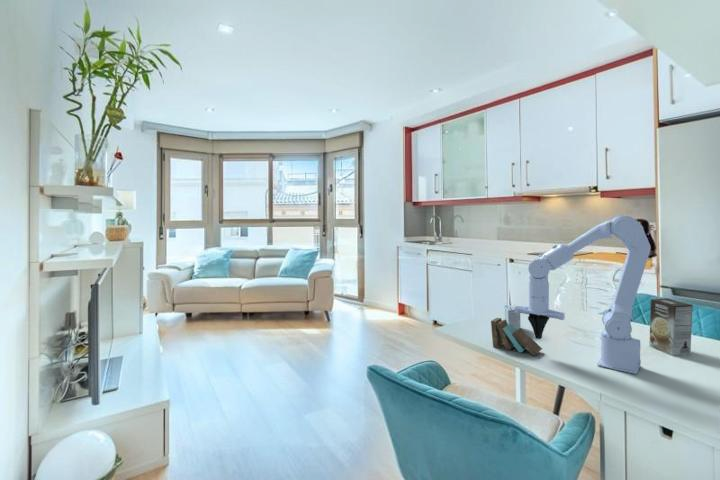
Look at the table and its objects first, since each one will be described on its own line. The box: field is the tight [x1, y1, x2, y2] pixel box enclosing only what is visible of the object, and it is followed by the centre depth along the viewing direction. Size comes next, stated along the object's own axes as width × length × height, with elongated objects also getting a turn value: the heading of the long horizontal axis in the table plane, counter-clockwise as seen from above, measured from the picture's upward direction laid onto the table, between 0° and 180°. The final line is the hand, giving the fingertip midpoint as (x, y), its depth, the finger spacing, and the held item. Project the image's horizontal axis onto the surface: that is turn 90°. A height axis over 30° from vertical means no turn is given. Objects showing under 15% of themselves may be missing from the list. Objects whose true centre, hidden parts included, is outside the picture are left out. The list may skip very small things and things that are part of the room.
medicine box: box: [504, 304, 521, 330], centre depth 145 cm, size 8×4×9 cm, turn 168°
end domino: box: [490, 317, 504, 349], centre depth 128 cm, size 2×5×9 cm, turn 137°
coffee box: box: [649, 297, 694, 357], centre depth 119 cm, size 9×6×16 cm
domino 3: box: [512, 327, 543, 357], centre depth 121 cm, size 2×5×9 cm
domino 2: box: [503, 323, 527, 354], centre depth 124 cm, size 2×5×9 cm
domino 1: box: [496, 318, 515, 351], centre depth 126 cm, size 2×5×9 cm, turn 135°
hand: (538, 338), depth 119 cm, fingers closed
